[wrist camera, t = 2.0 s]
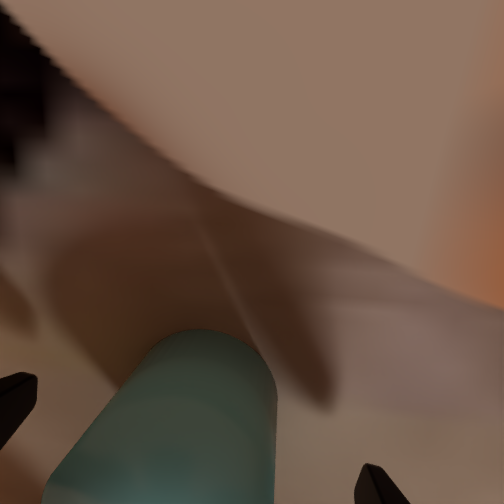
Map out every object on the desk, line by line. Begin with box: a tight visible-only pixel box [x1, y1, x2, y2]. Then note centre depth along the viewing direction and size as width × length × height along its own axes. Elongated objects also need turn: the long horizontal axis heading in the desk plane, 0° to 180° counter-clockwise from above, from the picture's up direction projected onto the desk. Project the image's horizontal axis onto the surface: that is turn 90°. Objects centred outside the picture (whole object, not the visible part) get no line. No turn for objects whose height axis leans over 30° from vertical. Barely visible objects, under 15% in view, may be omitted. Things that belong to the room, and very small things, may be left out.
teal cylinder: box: [41, 329, 278, 504], centre depth 8 cm, size 4×4×4 cm
